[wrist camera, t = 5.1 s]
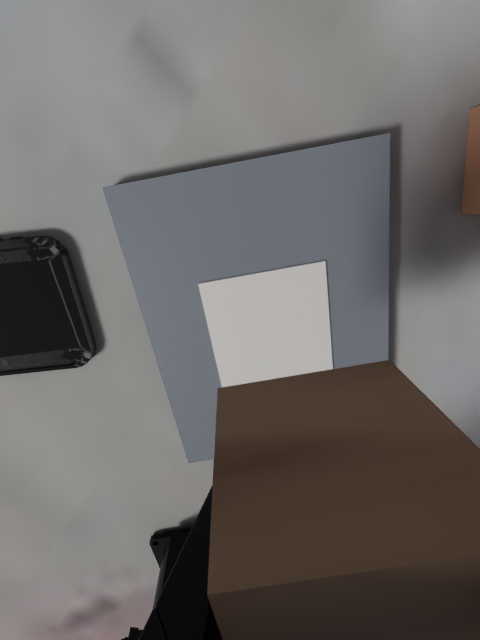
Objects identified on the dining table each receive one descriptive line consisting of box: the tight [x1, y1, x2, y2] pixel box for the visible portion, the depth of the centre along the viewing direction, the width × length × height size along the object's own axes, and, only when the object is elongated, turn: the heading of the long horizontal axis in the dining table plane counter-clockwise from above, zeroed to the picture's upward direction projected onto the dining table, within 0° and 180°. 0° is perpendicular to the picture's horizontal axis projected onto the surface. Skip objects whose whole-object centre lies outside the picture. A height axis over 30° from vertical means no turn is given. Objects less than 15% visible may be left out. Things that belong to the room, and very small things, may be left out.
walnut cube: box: [207, 360, 480, 640], centre depth 7 cm, size 5×5×5 cm
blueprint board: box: [103, 133, 390, 463], centre depth 18 cm, size 18×14×1 cm
